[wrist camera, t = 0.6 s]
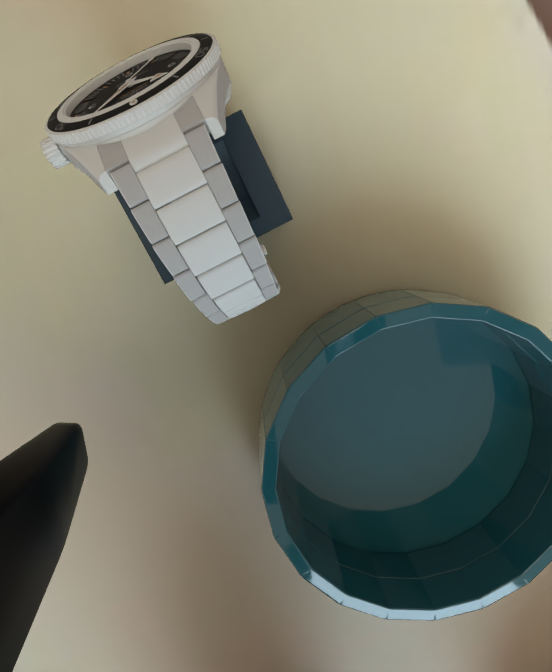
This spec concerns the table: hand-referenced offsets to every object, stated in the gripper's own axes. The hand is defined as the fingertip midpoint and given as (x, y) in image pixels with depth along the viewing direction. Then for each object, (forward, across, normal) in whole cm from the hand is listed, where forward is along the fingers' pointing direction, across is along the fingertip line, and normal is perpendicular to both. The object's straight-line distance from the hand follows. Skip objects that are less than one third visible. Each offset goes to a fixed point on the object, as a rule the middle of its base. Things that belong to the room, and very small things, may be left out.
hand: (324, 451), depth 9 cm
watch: (+15, +4, 0) cm, 16 cm away
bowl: (+12, -5, +10) cm, 16 cm away
